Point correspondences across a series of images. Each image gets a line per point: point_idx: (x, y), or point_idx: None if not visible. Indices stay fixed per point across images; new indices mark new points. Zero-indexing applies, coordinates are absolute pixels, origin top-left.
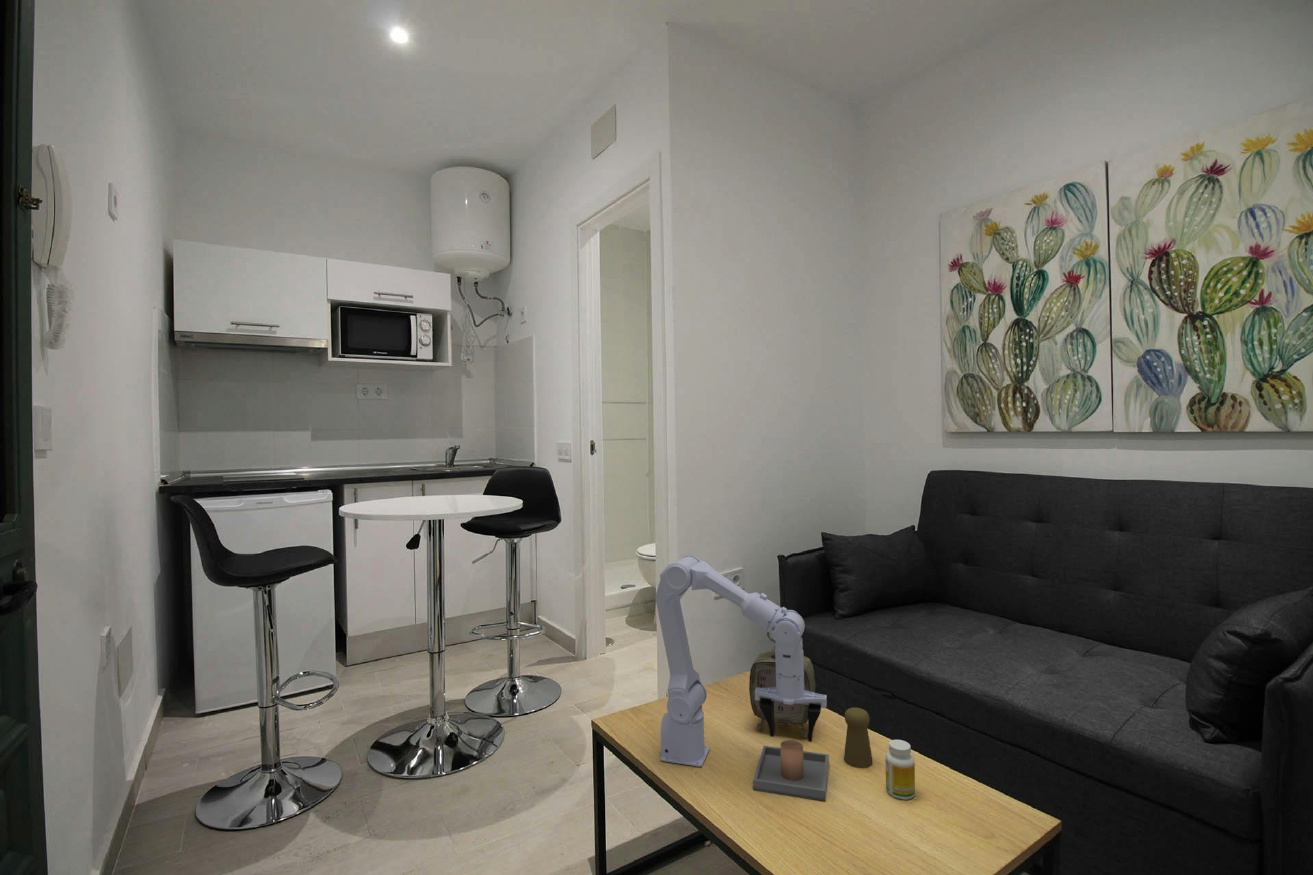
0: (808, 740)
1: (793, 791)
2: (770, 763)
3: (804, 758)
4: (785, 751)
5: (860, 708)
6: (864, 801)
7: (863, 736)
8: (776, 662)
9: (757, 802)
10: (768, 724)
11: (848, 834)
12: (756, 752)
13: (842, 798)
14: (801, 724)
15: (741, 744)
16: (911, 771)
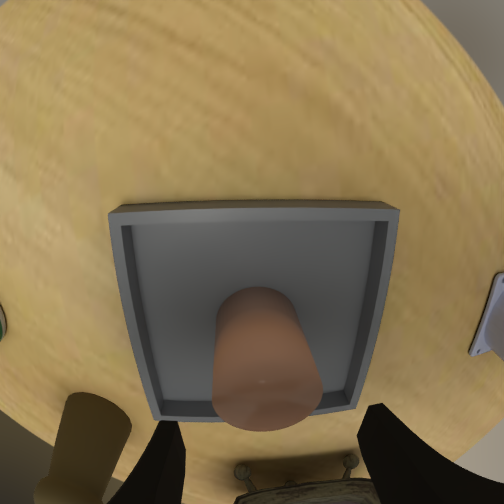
0: (174, 424)
1: (238, 202)
2: (332, 355)
3: None
4: (296, 356)
5: None
6: (26, 246)
7: (54, 458)
8: None
9: (362, 129)
10: (423, 443)
11: (51, 60)
12: (366, 390)
13: (76, 241)
14: (252, 490)
15: (398, 402)
16: None
